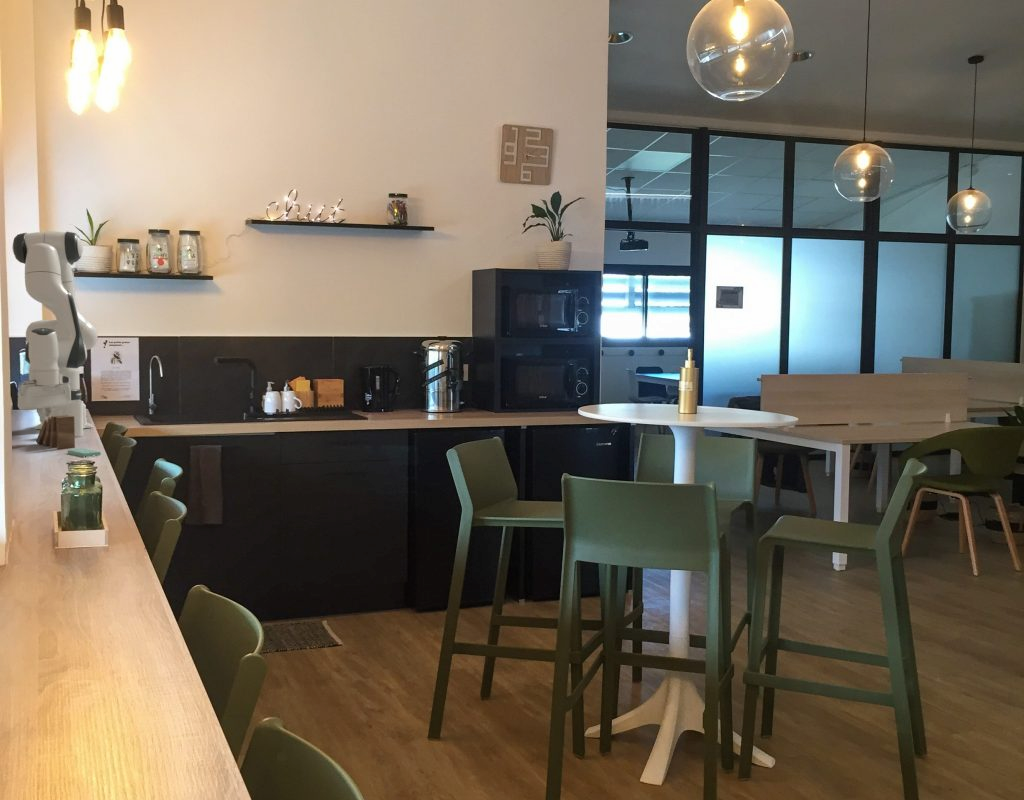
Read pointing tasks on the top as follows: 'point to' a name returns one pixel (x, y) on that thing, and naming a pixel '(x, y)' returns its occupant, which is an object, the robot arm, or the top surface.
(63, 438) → the domino
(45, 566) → the top surface
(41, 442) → the domino
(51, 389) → the robot arm
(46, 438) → the domino
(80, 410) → the mug
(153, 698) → the top surface
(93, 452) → the domino
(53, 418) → the domino
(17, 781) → the top surface
